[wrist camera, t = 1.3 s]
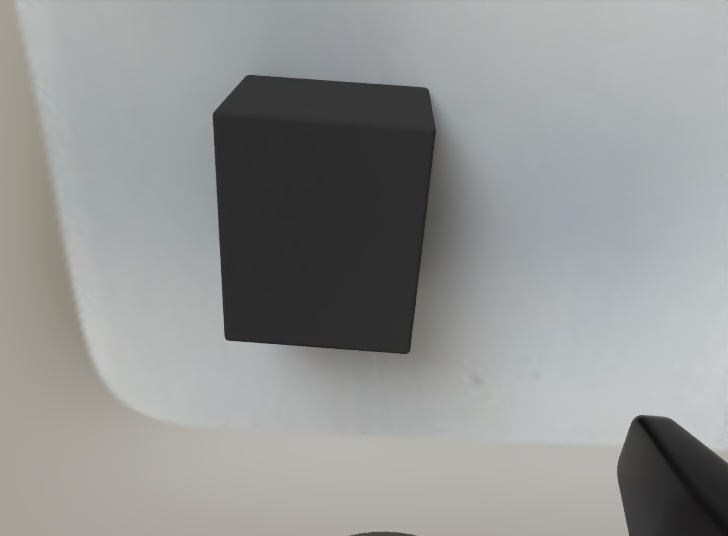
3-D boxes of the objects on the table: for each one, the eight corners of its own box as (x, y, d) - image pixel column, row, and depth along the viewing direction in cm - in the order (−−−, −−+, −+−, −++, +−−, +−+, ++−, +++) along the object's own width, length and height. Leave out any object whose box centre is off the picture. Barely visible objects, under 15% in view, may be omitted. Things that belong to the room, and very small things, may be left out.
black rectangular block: (408, 284, 17) (409, 355, 14) (251, 273, 17) (223, 342, 14) (429, 87, 14) (436, 128, 11) (245, 74, 14) (211, 111, 12)
